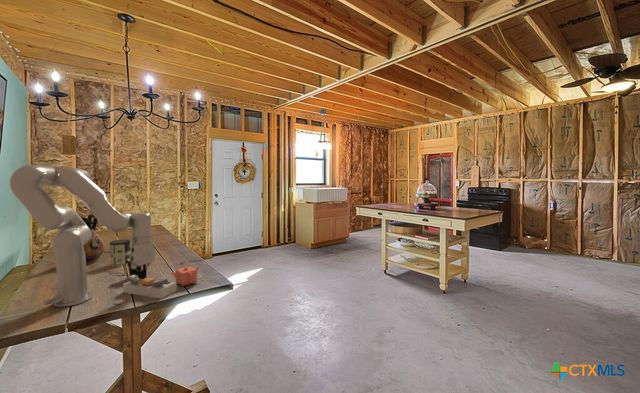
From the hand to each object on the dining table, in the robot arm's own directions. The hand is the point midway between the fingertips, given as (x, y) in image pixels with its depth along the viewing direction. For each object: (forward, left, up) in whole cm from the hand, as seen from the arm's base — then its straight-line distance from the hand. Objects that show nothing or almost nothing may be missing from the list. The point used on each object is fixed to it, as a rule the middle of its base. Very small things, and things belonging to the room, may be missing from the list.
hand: (142, 278), depth 131 cm
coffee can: (+29, +50, -7) cm, 58 cm away
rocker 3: (0, -10, -1) cm, 10 cm away
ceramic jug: (+27, +73, -7) cm, 78 cm away
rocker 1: (0, +4, -1) cm, 4 cm away
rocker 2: (0, -3, -1) cm, 3 cm away
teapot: (+15, -11, -7) cm, 20 cm away
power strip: (+1, -1, -7) cm, 7 cm away
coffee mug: (+16, +20, -7) cm, 26 cm away
